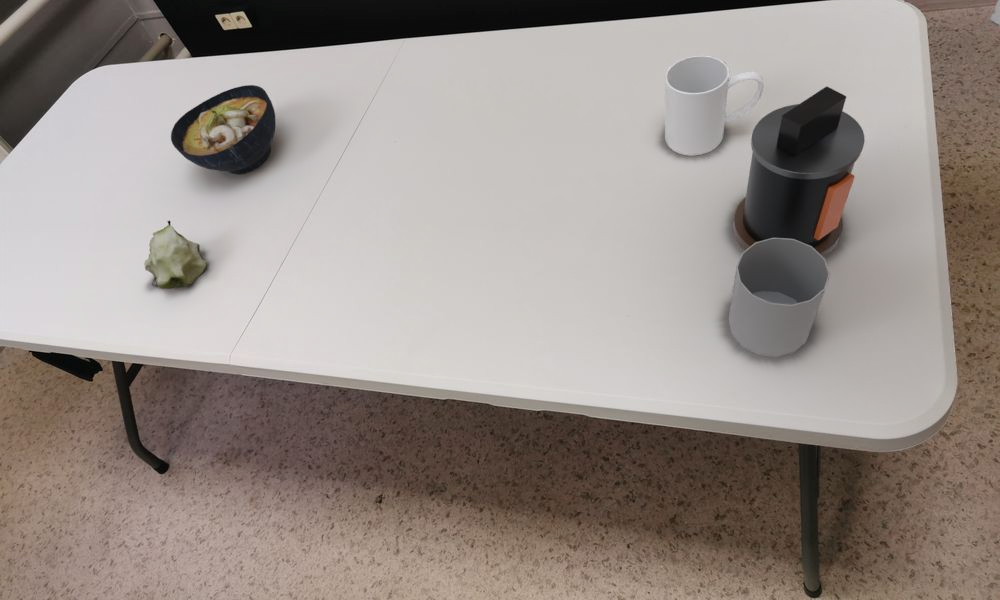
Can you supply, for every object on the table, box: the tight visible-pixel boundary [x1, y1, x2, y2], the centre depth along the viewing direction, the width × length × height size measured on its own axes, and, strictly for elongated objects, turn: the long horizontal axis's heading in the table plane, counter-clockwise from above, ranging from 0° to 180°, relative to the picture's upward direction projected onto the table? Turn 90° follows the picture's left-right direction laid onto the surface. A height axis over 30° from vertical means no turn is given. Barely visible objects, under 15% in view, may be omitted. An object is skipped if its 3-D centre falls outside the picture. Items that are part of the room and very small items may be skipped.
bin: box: [743, 86, 866, 247], centre depth 67 cm, size 11×11×17 cm
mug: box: [664, 55, 764, 157], centre depth 82 cm, size 12×8×10 cm, turn 81°
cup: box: [727, 238, 831, 358], centre depth 64 cm, size 8×8×10 cm
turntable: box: [732, 196, 844, 258], centre depth 75 cm, size 12×12×2 cm
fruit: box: [143, 220, 207, 290], centre depth 92 cm, size 9×9×8 cm
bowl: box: [170, 84, 277, 175], centre depth 104 cm, size 17×17×10 cm
